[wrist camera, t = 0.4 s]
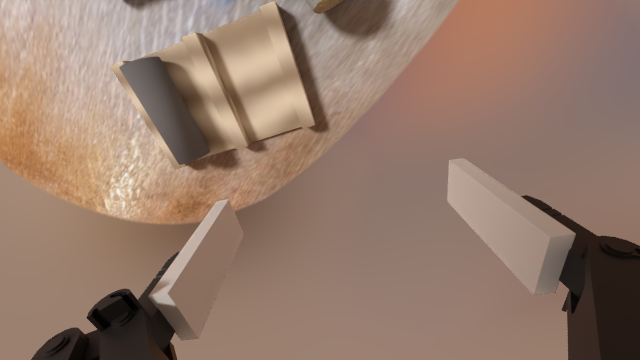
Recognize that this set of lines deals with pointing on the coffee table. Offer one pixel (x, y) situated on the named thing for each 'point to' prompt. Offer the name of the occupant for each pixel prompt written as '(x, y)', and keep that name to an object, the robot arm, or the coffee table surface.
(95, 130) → the coffee table surface
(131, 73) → the charcoal rod
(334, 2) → the ceramic mug
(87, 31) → the coffee table surface
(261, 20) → the slot rack
